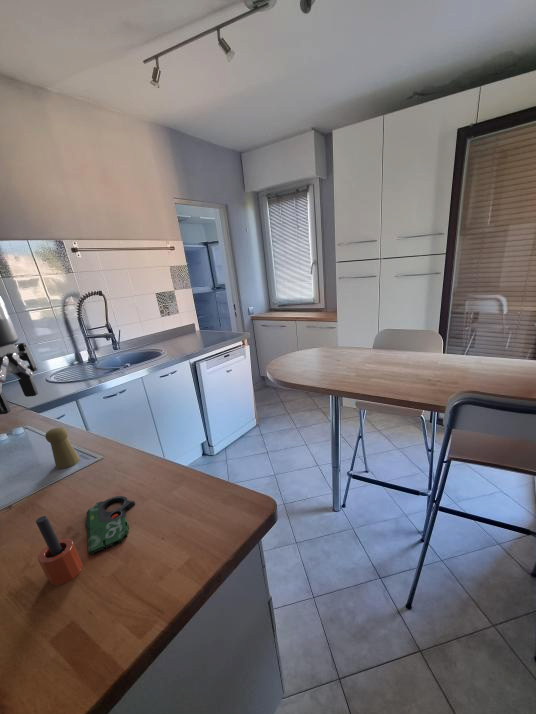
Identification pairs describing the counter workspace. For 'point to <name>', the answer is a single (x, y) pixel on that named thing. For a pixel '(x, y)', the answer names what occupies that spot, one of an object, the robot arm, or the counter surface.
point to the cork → (62, 448)
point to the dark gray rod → (49, 535)
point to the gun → (107, 524)
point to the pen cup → (61, 563)
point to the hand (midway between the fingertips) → (18, 404)
